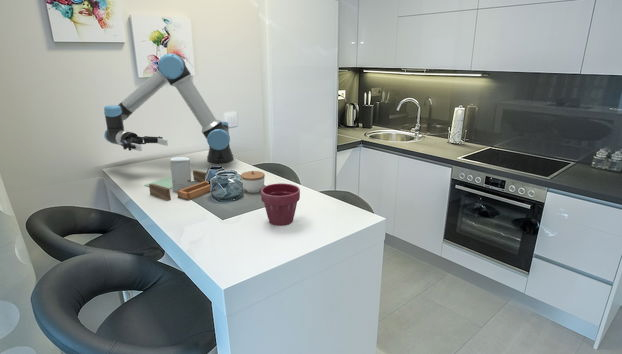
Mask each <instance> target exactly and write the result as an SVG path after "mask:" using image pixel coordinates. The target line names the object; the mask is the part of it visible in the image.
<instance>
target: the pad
mask: <svg viewBox="0 0 622 354" xmlns="http://www.w3.org/2000/svg"><path fill="white" fill-rule="evenodd" d="M151 183H153V184H156V185H159V186H162V187H166V188H169V189H170V190H171V189H172V190H173V185H172V176H169V177H165V178H162V179H159V180H156V181H152V182H149V183H145V184H144V187H148V188H149V184H151Z"/></svg>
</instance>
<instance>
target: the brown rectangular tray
mask: <svg viewBox="0 0 622 354" xmlns="http://www.w3.org/2000/svg"><path fill="white" fill-rule="evenodd" d="M209 193H211V192H210V184H209V182H208V181H204V182H198V183H196V184H193V185H192V186H190V187H187V188H184V189H181V190H179V191H177V198H178V199H181V200H185V201H190V200H193V199H196V198H198V197H201V196H203V195H206V194H209Z"/></svg>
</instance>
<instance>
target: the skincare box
mask: <svg viewBox="0 0 622 354" xmlns="http://www.w3.org/2000/svg"><path fill="white" fill-rule="evenodd" d="M170 170H171V171H170V172H171V178H172V185H173V188H172V191H173V193H175V192H177V191H179V190H181V189H184V188H187V187H190V186H193V185H192V171H191V158H190V157H189V156H185V157H183V156H179V157H171V158H170Z"/></svg>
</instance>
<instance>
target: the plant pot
mask: <svg viewBox="0 0 622 354" xmlns="http://www.w3.org/2000/svg"><path fill="white" fill-rule="evenodd" d="M260 191H261V192H260V197H261V198H260V199H261V201H262V203H263V204H264V208H265V212H266V216H267V218H268V219H267V220H268V223H269V224H271V225H273V226H275V227H276V226H277V227H284V226H288V225H291V224H292V223H293V222H294V217H295V214H296V209H297V206H298V205H297V204H298V202H299V200H300V199H301V188H300V187H299V186H297V185H296V184H291V183H271V184H267V185H265V186H263V187H262V188H261V189H260Z"/></svg>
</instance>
